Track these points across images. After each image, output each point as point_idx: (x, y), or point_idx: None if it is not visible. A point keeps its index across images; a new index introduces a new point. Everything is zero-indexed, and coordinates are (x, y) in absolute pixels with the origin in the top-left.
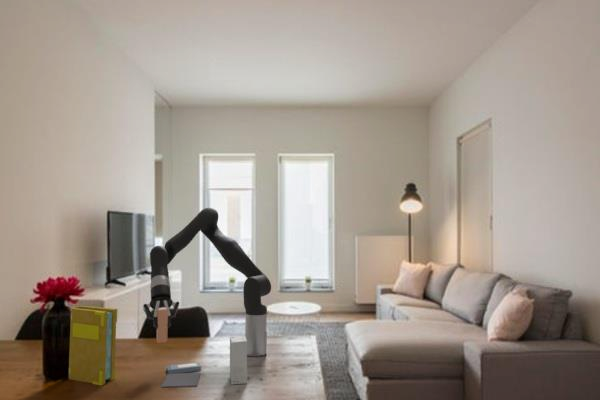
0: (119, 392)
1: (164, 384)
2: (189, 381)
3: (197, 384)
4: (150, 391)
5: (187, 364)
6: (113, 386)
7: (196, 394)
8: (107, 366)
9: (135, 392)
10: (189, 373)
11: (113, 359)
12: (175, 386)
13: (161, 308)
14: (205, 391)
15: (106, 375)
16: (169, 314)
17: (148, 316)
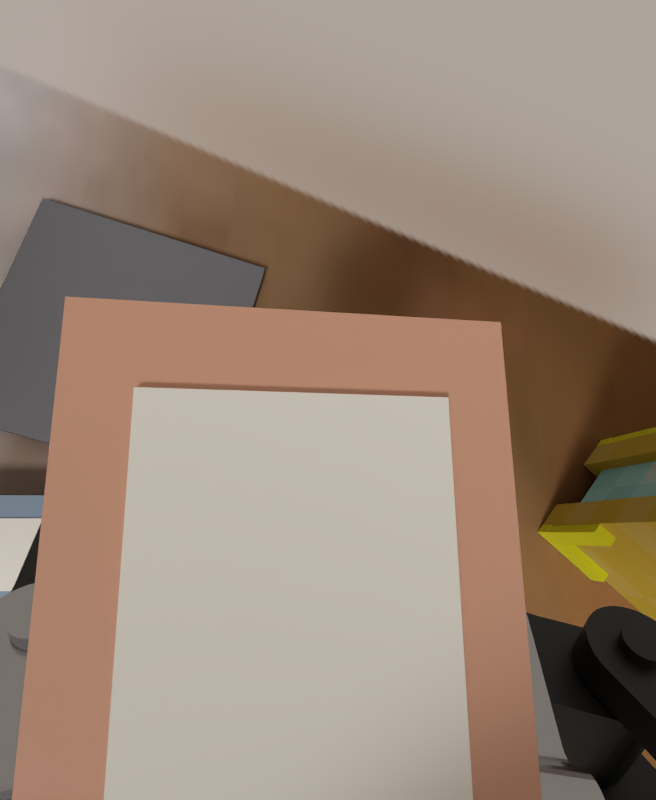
0: (491, 297)
1: (243, 291)
2: (75, 276)
3: (35, 218)
4: (329, 243)
5: (3, 578)
6: (532, 399)
7: (82, 99)
8: (649, 481)
9: (409, 263)
10: (34, 428)
11: (645, 508)
12: (180, 244)
13: (349, 633)
14: (17, 114)
15: (609, 482)
16: (17, 621)
17: (639, 784)
